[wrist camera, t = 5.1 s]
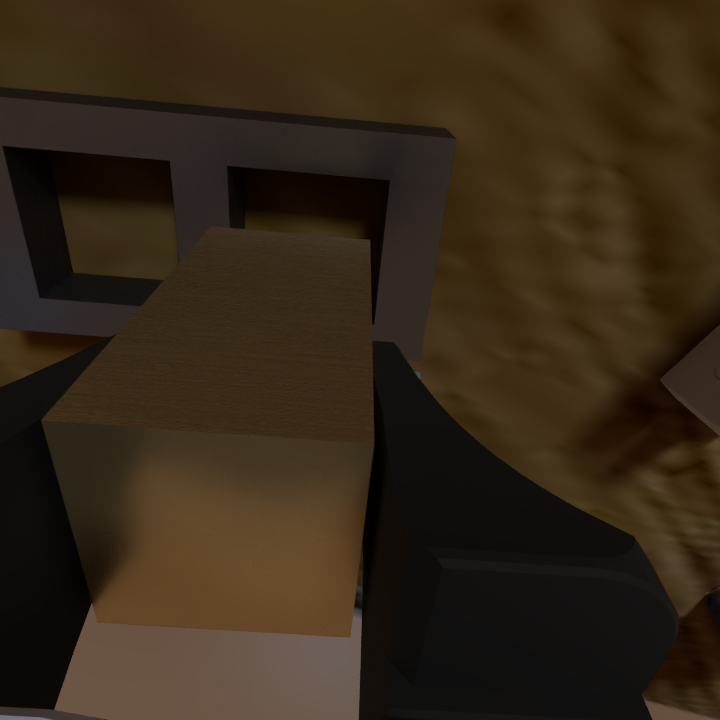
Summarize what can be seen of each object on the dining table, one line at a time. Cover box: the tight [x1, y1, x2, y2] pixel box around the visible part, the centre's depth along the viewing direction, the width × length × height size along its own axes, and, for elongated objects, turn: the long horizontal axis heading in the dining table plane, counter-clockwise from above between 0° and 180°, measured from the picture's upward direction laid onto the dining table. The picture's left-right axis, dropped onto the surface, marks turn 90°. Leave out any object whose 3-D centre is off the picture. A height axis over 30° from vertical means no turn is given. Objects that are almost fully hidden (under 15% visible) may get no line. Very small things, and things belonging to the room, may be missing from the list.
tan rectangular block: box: [41, 226, 374, 637], centre depth 11 cm, size 4×4×8 cm
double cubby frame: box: [0, 87, 456, 361], centre depth 19 cm, size 16×8×2 cm, turn 85°
